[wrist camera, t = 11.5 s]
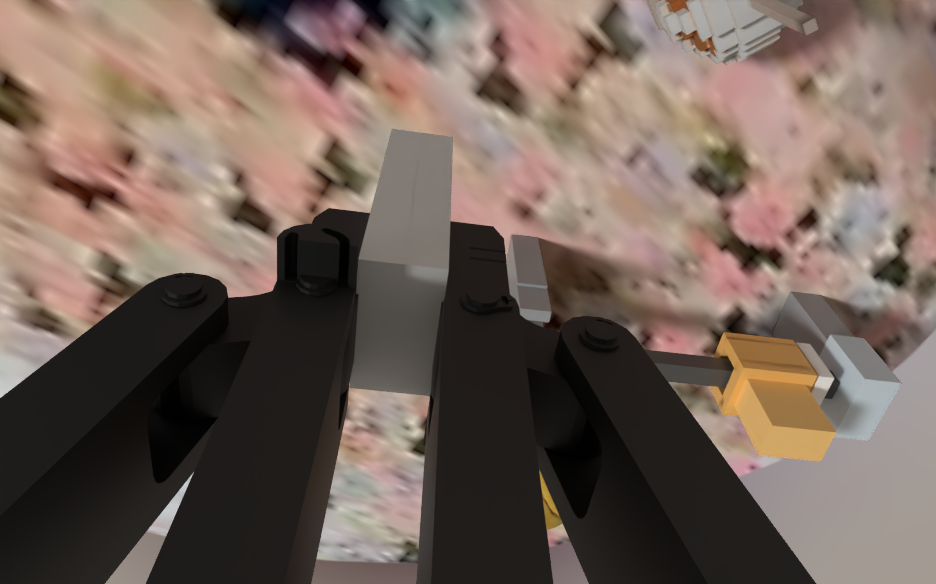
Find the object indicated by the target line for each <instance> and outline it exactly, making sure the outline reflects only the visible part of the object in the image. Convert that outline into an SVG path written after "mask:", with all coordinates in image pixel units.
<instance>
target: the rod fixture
mask: <svg viewBox="0 0 936 584" xmlns="http://www.w3.org/2000/svg"><path fill="white" fill-rule="evenodd" d="M506 264H507V272H508V281H509V290H510V295H511V296H512V297H514V298H515V299H516V301H517V303H518V305H519V308H520V315H521V316H522V317H524V318H525V319H527V320H529V321H530V322H532V323H534V324H536V325H539V326H542V327H543V322H549V321H550V317H551V312H552V311H551V306H550V301H549V296H548V291H547V287H548V286H547V281H546V276H545V271H544V266H543V261H542V256H541V251H540V246H539V241H538V238H535V237H527V236H519V235H511V240H510V245H509V250H508V255H507V261H506ZM772 334H773V335H774V337H775V338H780V339H789V340H793V341H794V342H795V344H796V345H797V347H798V348H799V349H800V351H801V352H802V354H803V355H804V357H805V358H806V360H807V361H808V363H809V364H810V365H811V367H812V368H813V370H814V371H815V373H816V374H817V378H816V380H815V382H814V384H813V386H812V388H811V390H810V392H811V394H812V395H813V397H814V398H815V400H816V401H817V403H818V405H819V406H820V408H821V409H822V411H823V412H824V414H825V415H826V417H827V418H828V420H829V421H830V423H831V424H832V426H833V428H834V429H835V431H836V432H837V433H836V435H835V436H834V437H840V438H850V439H860V440H869V438H870V436H871V435H872V433H873V431H874V430H875V428H876V426H877V424H878V423H879V421H880V419H881V418H882V416H883V414H884V412H885V411H886V409H887V407H888V406H889V404H890V402H891V401H892V398H893V397H894V395H895V393H896V392H897V390H898V388H899V387H900V385H901V382H900V381H899V379H898V378H897V377H896V376H895V375H894V374H893V372H892V371H891V370H890V369H889V367H888V366H887V365H886V364H885V363H884V361H883V360H882V359H881V358H880V357H879V356H878V354H877V353H876V352H875V351H874V350H873V348H872V347H871V346H870V345H869V344H868V342H867V341H866V340H865V339H864V338H858V337H855V336H854V335H853V334H852V332H851V331H850V330H849V329H848V328H847V326H846V325H845V324H844V323H843V321H842V320H841V319H840V318H839V317H838V315H837V314H836V313H835V312H834V311H833V309H832V308H831V307H830V306H829V304H828V303H827V302H826V301H825V300H824V298H823V297H822V296H821V295H813V294H805V293H796V292H790V295H789V297H788V299H787V301H786V304H785V306H784V308H783V310H782V313H781V315H780V317H779V319H778V322H777V324H776V326H775V328H774V331H773V333H772ZM645 351H646V353H647V354H648V355H649V357H650V358H651V360H652V361H653V362H654V364H655V365H656V366H657V368H658V369H659V370H660V372H661V373H662V375H663V376H664V377H665V379H666V380H667V381H668V382H677V383H687V384H696V385H705V386H715V387H724V388H726V386H727V384H728V381H729V379H730V377H731V374H732V372H733V370H734V367H733V365H732V363H731V361H730V359H724V358H715V357H706V356H697V355H688V354H679V353H670V352H661V351H651V350H645Z"/></svg>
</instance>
